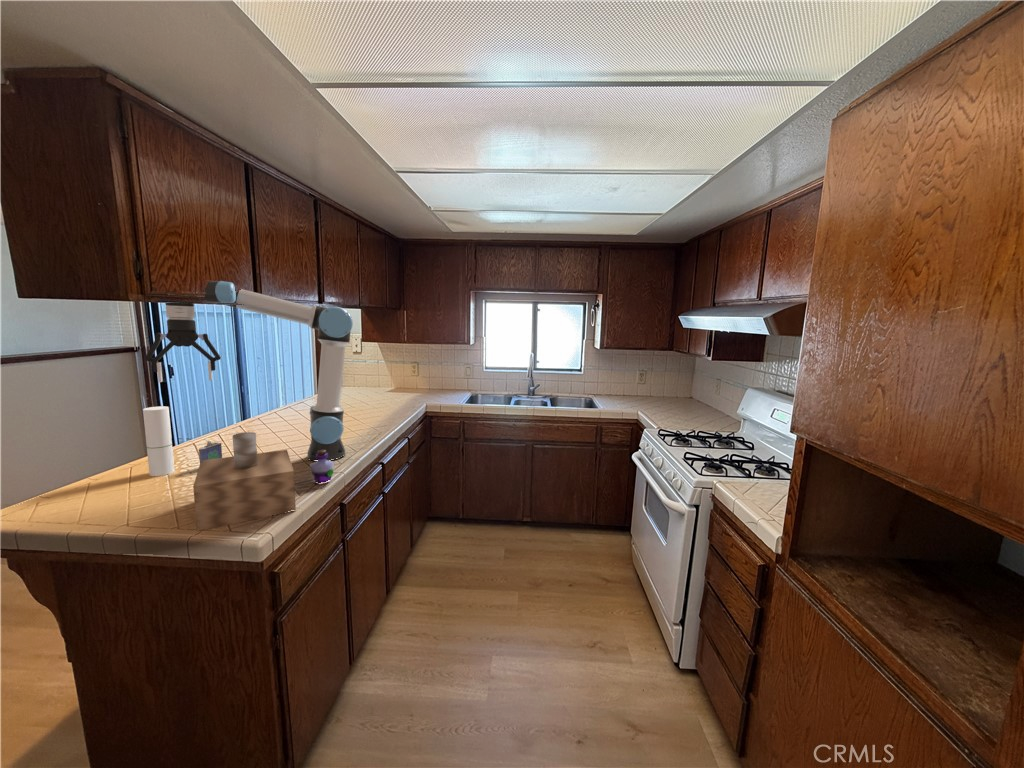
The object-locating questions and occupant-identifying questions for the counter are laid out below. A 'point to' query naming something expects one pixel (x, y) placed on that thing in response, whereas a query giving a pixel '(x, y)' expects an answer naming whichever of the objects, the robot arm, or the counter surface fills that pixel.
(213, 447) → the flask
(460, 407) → the counter surface
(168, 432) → the cylindrical container
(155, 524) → the counter surface
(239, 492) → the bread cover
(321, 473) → the potion bottle
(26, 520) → the counter surface
